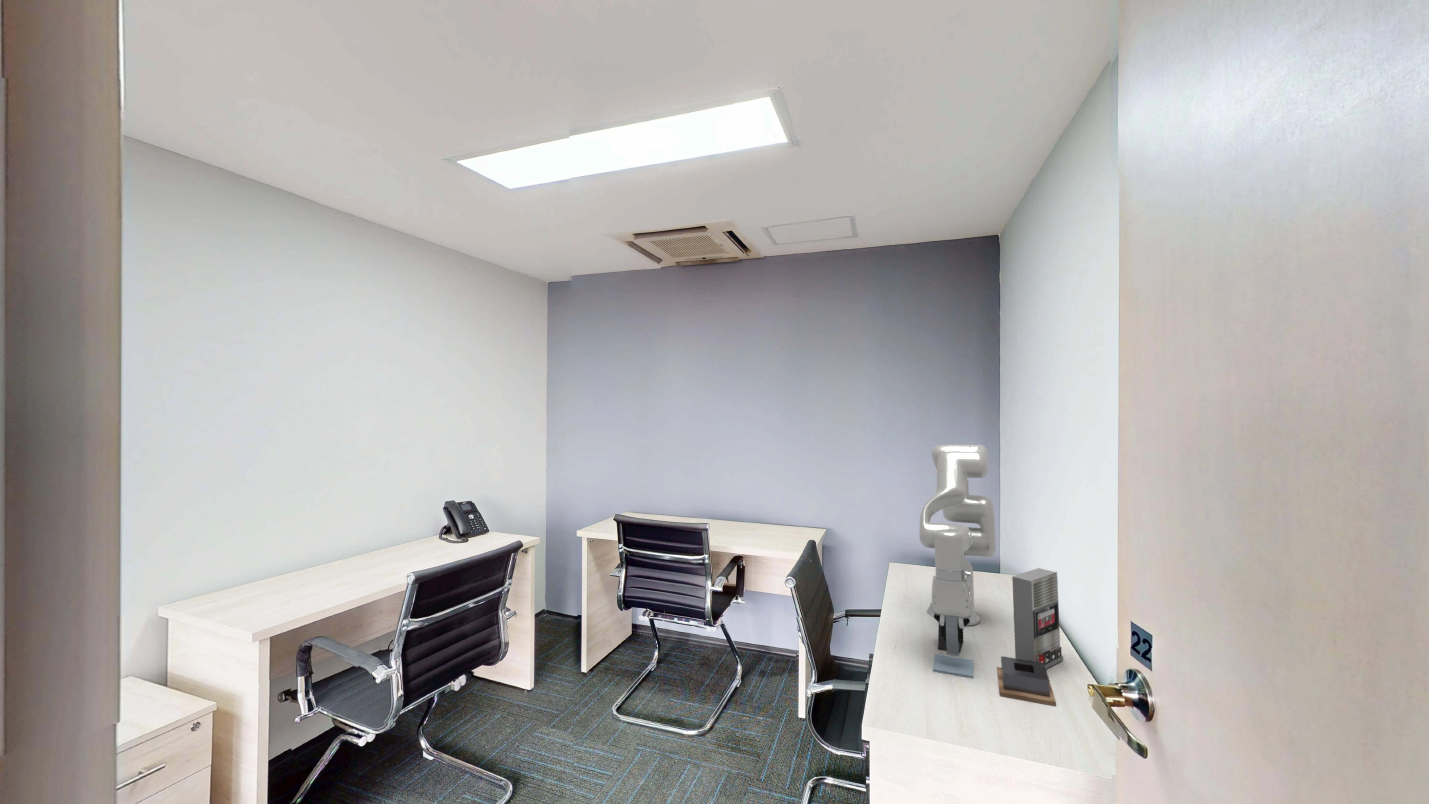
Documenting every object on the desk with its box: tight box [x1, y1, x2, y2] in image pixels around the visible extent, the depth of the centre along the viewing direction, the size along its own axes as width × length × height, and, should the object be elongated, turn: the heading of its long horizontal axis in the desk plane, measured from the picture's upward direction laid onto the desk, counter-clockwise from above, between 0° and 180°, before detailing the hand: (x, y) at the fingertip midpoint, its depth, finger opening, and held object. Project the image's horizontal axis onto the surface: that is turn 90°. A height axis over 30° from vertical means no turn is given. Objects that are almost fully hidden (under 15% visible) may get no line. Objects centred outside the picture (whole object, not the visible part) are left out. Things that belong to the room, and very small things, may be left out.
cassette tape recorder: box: [1011, 567, 1064, 669], centre depth 150 cm, size 14×6×25 cm, turn 121°
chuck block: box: [1000, 655, 1050, 697], centre depth 137 cm, size 10×10×4 cm
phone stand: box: [937, 614, 964, 654], centre depth 162 cm, size 9×6×12 cm, turn 148°
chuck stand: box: [996, 666, 1057, 707], centre depth 137 cm, size 14×12×1 cm
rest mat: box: [932, 653, 974, 679], centre depth 149 cm, size 10×10×1 cm
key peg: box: [945, 615, 960, 657], centre depth 149 cm, size 3×3×11 cm
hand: (952, 639), depth 149 cm, fingers closed on key peg, 3 cm apart
